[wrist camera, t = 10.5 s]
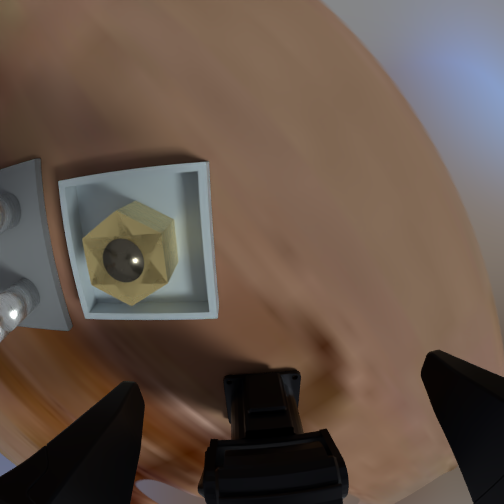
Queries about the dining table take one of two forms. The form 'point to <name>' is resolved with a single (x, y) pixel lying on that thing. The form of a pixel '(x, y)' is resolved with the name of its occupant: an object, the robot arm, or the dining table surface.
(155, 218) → the brass nut
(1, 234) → the spacer board
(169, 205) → the tray
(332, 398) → the dining table surface
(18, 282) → the spacer posts
